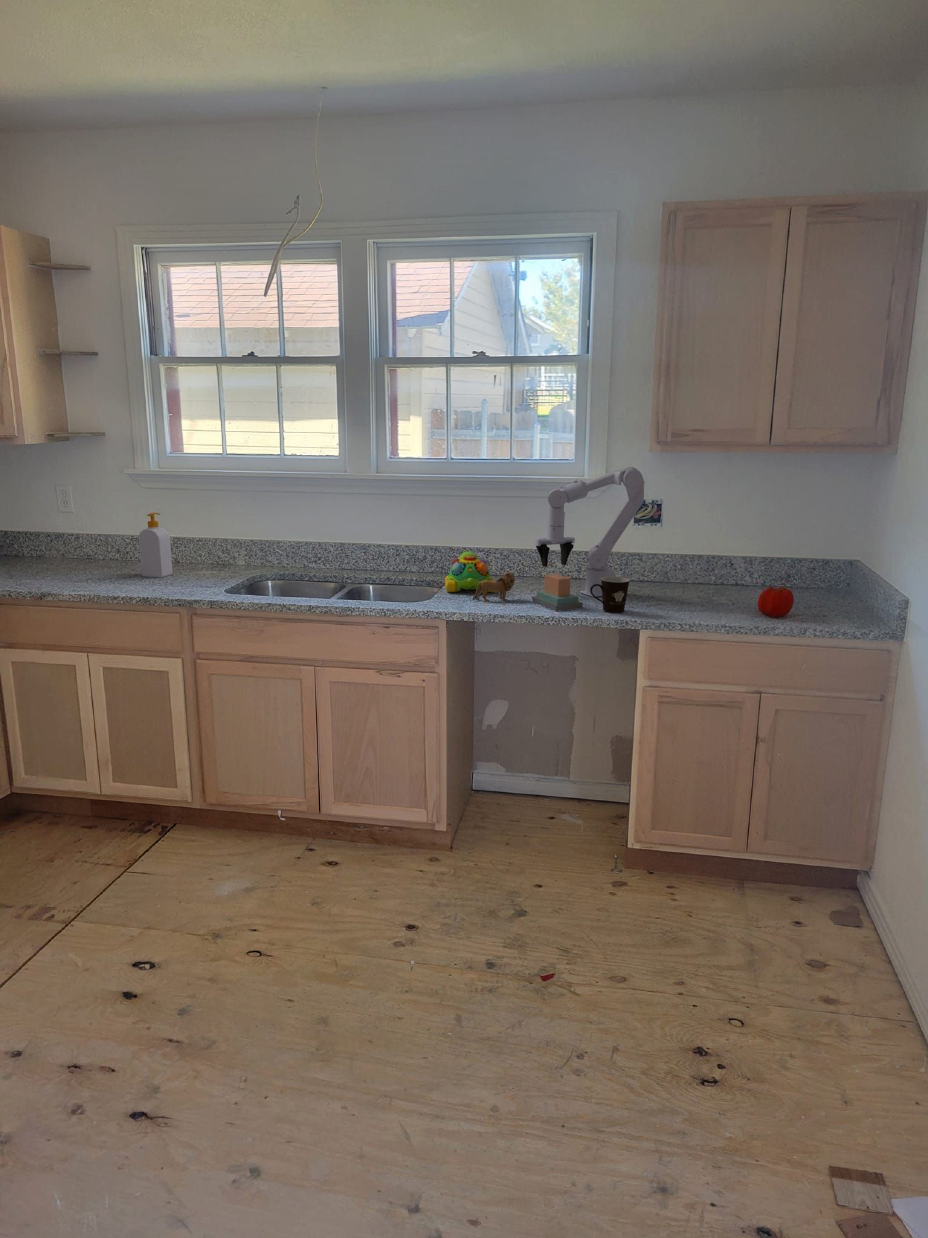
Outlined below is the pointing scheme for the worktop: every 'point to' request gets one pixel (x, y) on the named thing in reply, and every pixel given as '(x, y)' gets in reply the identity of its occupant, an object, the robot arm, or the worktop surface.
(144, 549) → the soap bottle
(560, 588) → the terracotta brick
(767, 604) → the tomato
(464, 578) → the turtle toy
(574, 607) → the green-topped grey block
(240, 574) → the worktop surface
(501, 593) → the lion figurine
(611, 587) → the coffee mug
